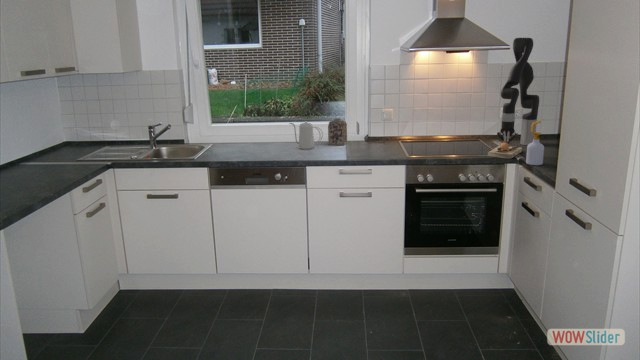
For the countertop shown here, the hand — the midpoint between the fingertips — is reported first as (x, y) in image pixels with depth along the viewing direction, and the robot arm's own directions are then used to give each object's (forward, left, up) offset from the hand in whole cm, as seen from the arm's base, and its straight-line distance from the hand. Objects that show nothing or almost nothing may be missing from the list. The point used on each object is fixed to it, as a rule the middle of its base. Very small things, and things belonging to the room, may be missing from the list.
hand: (506, 147), depth 327 cm
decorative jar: (+25, -111, -4) cm, 114 cm away
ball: (+4, 0, +1) cm, 4 cm away
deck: (+2, 0, -4) cm, 4 cm away
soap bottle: (+20, +22, -4) cm, 30 cm away
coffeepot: (+48, -122, -4) cm, 131 cm away
